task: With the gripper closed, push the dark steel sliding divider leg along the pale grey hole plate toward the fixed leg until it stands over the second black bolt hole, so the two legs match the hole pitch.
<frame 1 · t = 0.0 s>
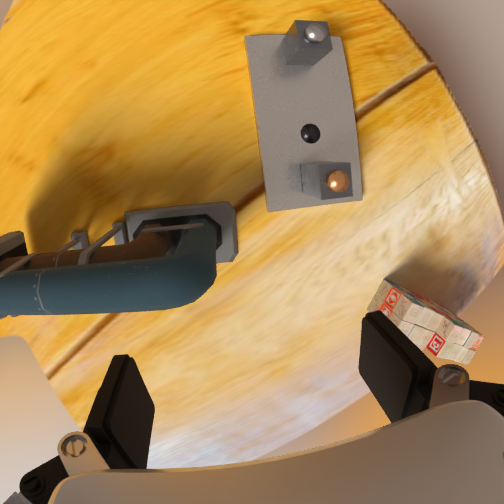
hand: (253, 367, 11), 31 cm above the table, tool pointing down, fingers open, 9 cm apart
hole plate: (305, 116, 38), on the table
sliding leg: (326, 179, 35), point 5 cm above the table, slide at 0.0 cm
curved pipe assembly: (115, 243, 40), on the table
fixed leg: (298, 52, 34), resting on hole plate
stack of blocks: (412, 309, 50), on the table
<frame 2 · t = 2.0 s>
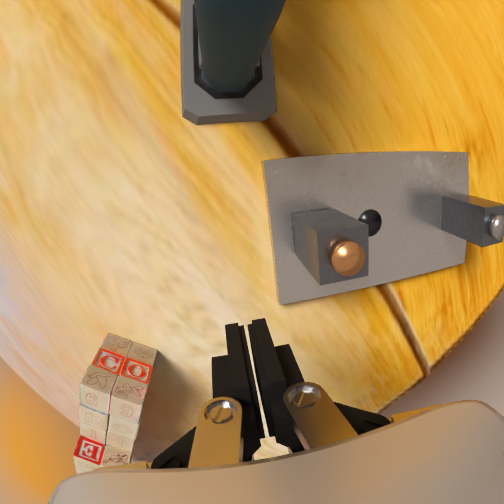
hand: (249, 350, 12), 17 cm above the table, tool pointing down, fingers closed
hole plate: (384, 217, 30), on the table
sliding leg: (330, 243, 24), point 6 cm above the table, slide at 0.0 cm
fixed leg: (453, 211, 29), resting on hole plate
stack of blocks: (121, 397, 33), on the table
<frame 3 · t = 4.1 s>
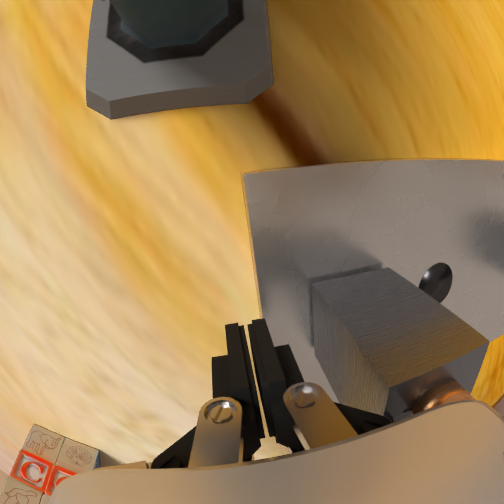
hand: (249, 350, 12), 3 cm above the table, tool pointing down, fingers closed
hole plate: (452, 270, 16), on the table
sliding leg: (391, 359, 10), point 6 cm above the table, slide at 0.3 cm, touching gripper
stack of blocks: (76, 483, 19), on the table
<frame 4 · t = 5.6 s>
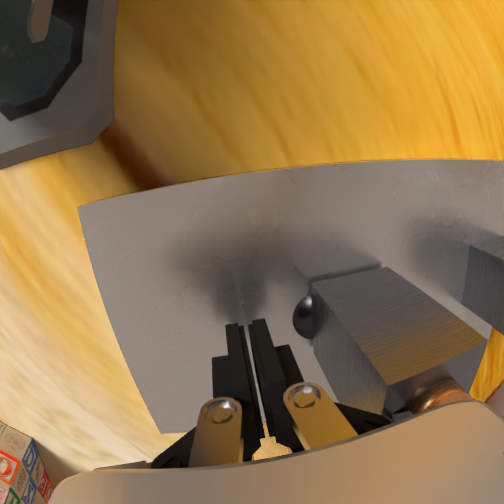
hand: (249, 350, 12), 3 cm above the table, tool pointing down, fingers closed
hole plate: (356, 294, 15), on the table
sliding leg: (390, 358, 10), point 6 cm above the table, slide at 7.5 cm, touching gripper
fixed leg: (484, 269, 15), resting on hole plate
stack of blocks: (30, 472, 19), on the table
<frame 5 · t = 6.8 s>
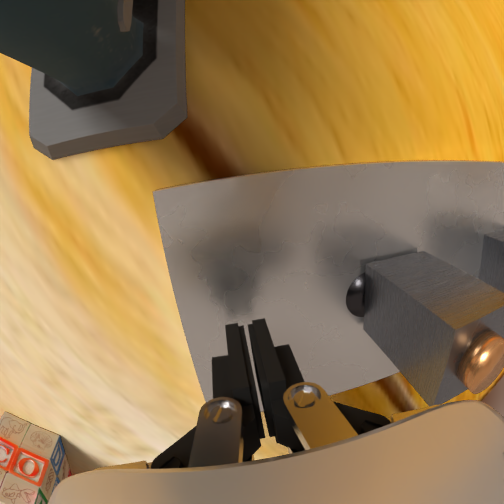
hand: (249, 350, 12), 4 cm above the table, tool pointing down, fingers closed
hole plate: (393, 277, 17), on the table
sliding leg: (437, 323, 12), point 6 cm above the table, slide at 7.6 cm
fixed leg: (495, 256, 17), resting on hole plate
stack of blocks: (52, 473, 20), on the table
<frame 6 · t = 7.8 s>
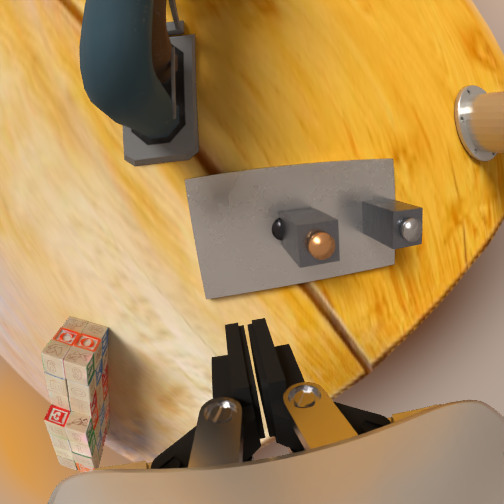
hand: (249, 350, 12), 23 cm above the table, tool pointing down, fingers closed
hole plate: (301, 223, 35), on the table
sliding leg: (309, 235, 30), point 5 cm above the table, slide at 7.6 cm
curved pipe assembly: (159, 24, 26), on the table
fixed leg: (376, 215, 35), resting on hole plate
stack of blocks: (90, 376, 38), on the table
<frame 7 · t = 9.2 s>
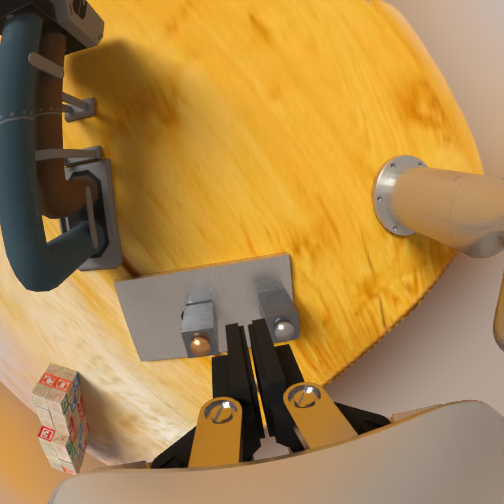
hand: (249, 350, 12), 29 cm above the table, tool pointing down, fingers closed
hole plate: (207, 310, 43), on the table
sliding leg: (200, 330, 38), point 6 cm above the table, slide at 7.6 cm
curved pipe assembly: (82, 148, 34), on the table
fixed leg: (272, 303, 43), resting on hole plate
stack of blocks: (71, 403, 47), on the table
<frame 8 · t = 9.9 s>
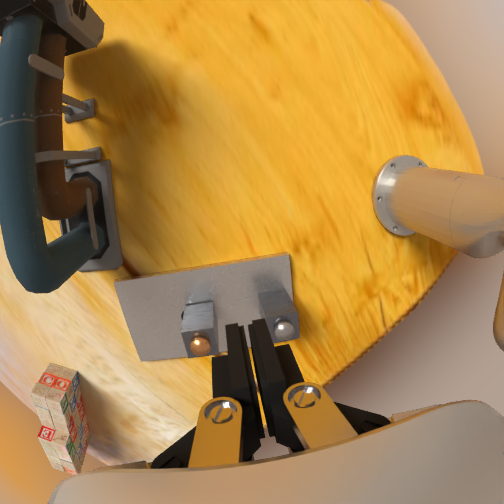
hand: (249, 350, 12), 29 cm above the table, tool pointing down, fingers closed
hole plate: (207, 310, 43), on the table
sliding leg: (200, 330, 38), point 6 cm above the table, slide at 7.6 cm
curved pipe assembly: (82, 150, 35), on the table
fixed leg: (272, 303, 43), resting on hole plate
stack of blocks: (71, 403, 47), on the table
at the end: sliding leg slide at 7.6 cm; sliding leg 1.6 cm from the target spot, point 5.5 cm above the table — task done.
